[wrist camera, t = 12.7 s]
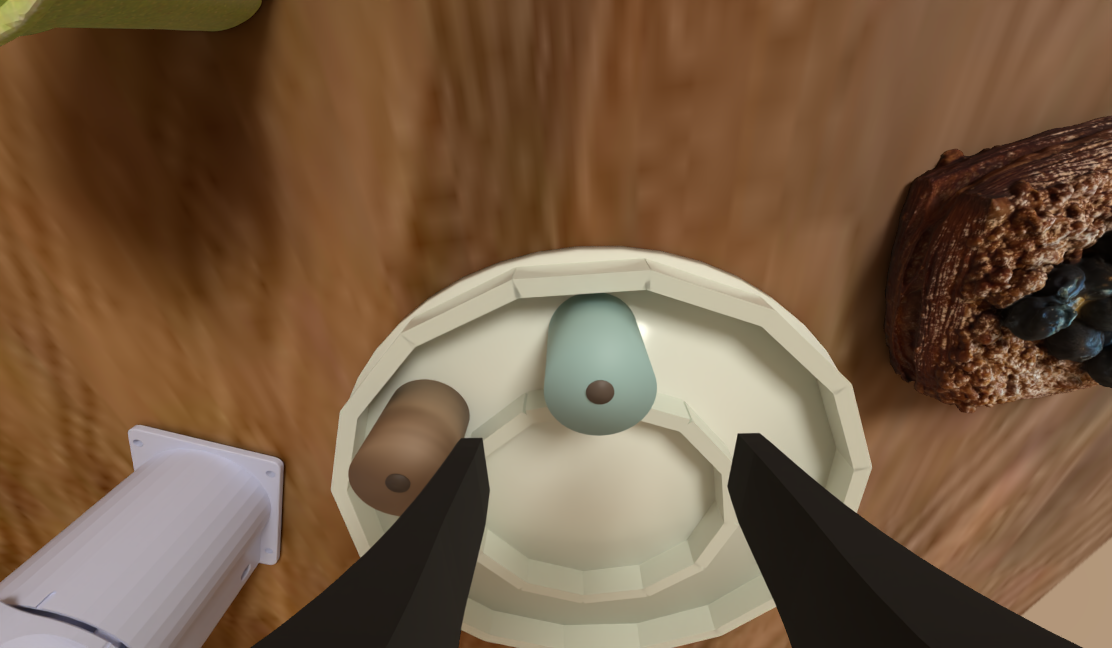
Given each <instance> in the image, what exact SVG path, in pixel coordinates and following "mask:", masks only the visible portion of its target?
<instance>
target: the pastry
mask: <svg viewBox="0 0 1112 648" xmlns="http://www.w3.org/2000/svg"><path fill="white" fill-rule="evenodd" d="M885 296H886V299H887V301H886V317H885V322H884V331H885V334H886V344H887V346H888V347H889V349H890V364H891V365H892V366H893V368H894V371H895V373H896V374H898V375H901V378H902V379H903V380H904V381H906V382H911V381H915V383H914V387H915V389H916V390H917V391H918V392H919V393H921V394H925V395H929V396H930V397H934V398H935V399H938V400H940V401H941V402H943V403H945V404H949V405H952V404H955V405H956V406H957V408H959V410H960V411H961V412H965V413H974V412H975V409H976V407H977V406H983V405H985V406H987V407H993V406H994V405H995V404H1003V403H1008V402H1013V401H1016V400H1018V399H1028V398H1040V397H1046V396H1051V395H1054V394H1059V393H1069V392H1072V391H1075V390H1078V389H1085V388H1089V387H1093V386H1096V385H1099V384H1100V385H1102V386H1105V387H1110V388H1112V116H1107V117H1101V118H1097V119H1094V120H1091V121H1088V122H1085V123H1081V124H1078V125H1073V126H1069V127H1063V128H1055V129H1051V130H1047V131H1044V132H1042V133H1039V134H1036V135H1033V136H1031V137H1029V138H1026V139H1022V140H1019V141H1016V142H1012V143H1009V144H1005V145H1002V146H999V145H997V146H994V147H993V148H991V149H990V148H986V149H983V150H982V151H980V152H979V153H977V154H975V155H972V156H964V155H963V152H961V151H960V150H958V149H952V150H948V151H946V152H944V153H943V154H942V155H941V158H940V160H939V163H938V165H937V167H935V168H934V169H932V170H928V171H926V172H925V173H924V174H922V175H921V176H919V177H917V178H916V179H915V180H914V181H913V183H912V185H911V187H910V190H909V193H908V197H907V200H906V202H905V204H904V207H903V209H902V212H901V215H900V221H899V227H898V232H897V236H896V239H895V243H894V245H893V249H892V253H891V262H890V267H889V271H888V277H887V286H886V290H885Z"/></svg>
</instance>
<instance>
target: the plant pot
mask: <svg viewBox="0 0 1112 648" xmlns="http://www.w3.org/2000/svg"><path fill="white" fill-rule="evenodd" d="M261 2H262V0H0V46H2V45H4V44H6V43H8V42H10V41H12V40H13V39H15V38H17V37H19V36H25V35H32V34H36V33H40V32H44V31H47V30H50V29H53V28H56V27H61V28H117V29H166V30H189V31H221V30H226V29H229V28H232V27H235V26H237V25H239V24H241V23H243V22H245V21H246V20H248V19H249V18H250V17H252V16H253V15H254V14H255V13H256V11H257V10H258V9H259V7H260V6H261Z"/></svg>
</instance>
